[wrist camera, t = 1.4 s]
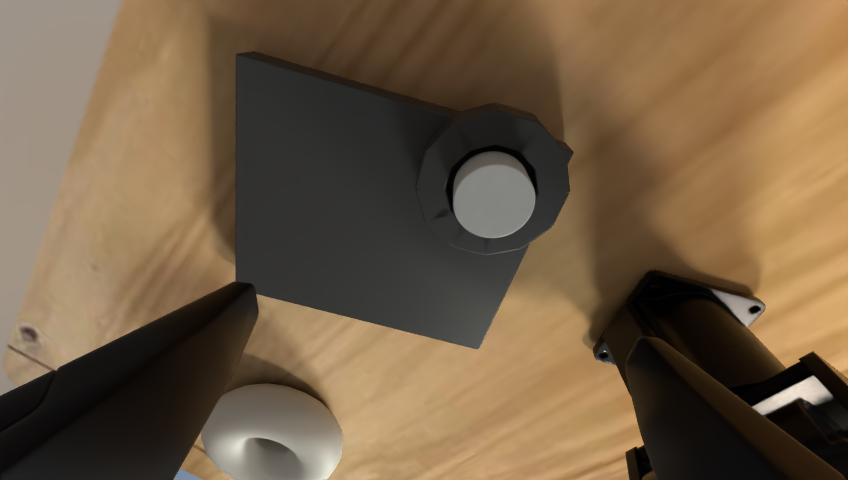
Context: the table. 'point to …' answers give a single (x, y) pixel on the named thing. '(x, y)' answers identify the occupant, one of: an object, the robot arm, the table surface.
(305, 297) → the scale
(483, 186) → the button
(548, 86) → the table surface
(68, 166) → the table surface
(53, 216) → the table surface
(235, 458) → the donut
